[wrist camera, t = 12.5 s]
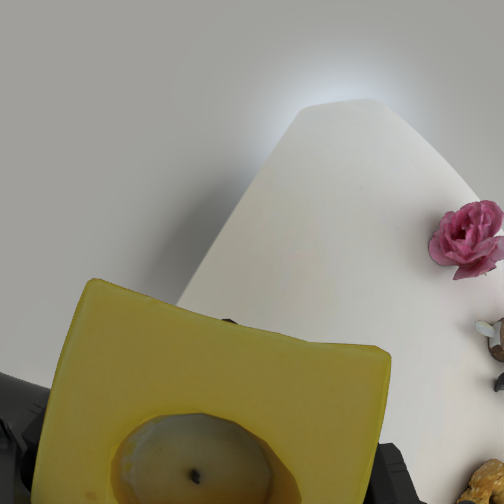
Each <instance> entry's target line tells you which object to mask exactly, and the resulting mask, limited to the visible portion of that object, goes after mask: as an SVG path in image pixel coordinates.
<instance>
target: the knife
mask: <svg viewBox="0 0 504 504" xmlns="http://www.w3.org/2000/svg"><path fill="white" fill-rule="evenodd" d="M499 390H504V372H503V373H502V374H501V375H500V376H499V377H498V379H497V383H496V387H495V392H497V391H499Z"/></svg>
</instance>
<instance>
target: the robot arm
mask: <svg viewBox="0 0 504 504" xmlns="http://www.w3.org/2000/svg"><path fill="white" fill-rule="evenodd" d="M49 396H50V392H48V393H46V394H44V395H42V396H40V397H39V398H38V399H37V400H36V401H35V402H34V405H32V406H31V407H30V408H29V410H27V411H26V412H25V413H24V414H23V415H22V416H21V418H20V419H19V420H18V421H17V422H16V423H15V424H14V425H13V426H12V428H11V429H10V428H9V426H8V424H7V422H6V420H5V419H4V418H3V417H1V416H0V504H31V500H30V498H31V491H32V483H33V477H34V471H35V464H36V458H37V452H38V446H39V441H40V436H41V431H42V427H43V422H44V417H45V412H46V408H47V404H48V400H49ZM363 504H427V503H425V502H422V501H420V500H419V498H418V496H417V494H416V491H415V488H414V486H413V483H412V480H411V478H410V475H409V472H408V470H407V467H406V465H405V463H404V459H403V457H402V454H401V452H400V450H399V449H398V448H397V447H396V446H395V445H394V444H393V443H386V444H379V442H378V445H377V448H376V452H375V457H374V462H373V466H372V471H371V475H370V479H369V483H368V487H367V491H366V494H365V498H364V501H363ZM457 504H476V503H475V502H473V501H470V500H463V501H460V502H459V503H457Z"/></svg>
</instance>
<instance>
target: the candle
mask: <svg viewBox="0 0 504 504" xmlns="http://www.w3.org/2000/svg"><path fill="white" fill-rule="evenodd" d="M390 373H391V356H390V354H389V353H388V352H386V351H384V350H382V349H380V348H379V347H377V346H372V345H357V344H339V343H314V342H307V341H303V340H300V339H296V338H293V337H290V336H286V335H283V334H279V333H275V332H270V331H265V330H260V329H255V328H250V327H246V326H242V325H238V324H237V323H235V322H234V321H232V320H231V319H222V320H219V319H215V318H212V317H208V316H204V315H201V314H197V313H194V312H191V311H188V310H185V309H182V308H179V307H176V306H174V305H171V304H168V303H165V302H162V301H159V300H157V299H154V298H152V297H149V296H147V295H144V294H141V293H137V292H134V291H132V290H129V289H126V288H123V287H120V286H118V285H115V284H112V283H110V282H107V281H105V280H102V279H95V278H93V279H91V280H89V281H88V282H87V284H86V286H85V288H84V290H83V293H82V295H81V297H80V300H79V302H78V305H77V307H76V310H75V313H74V316H73V319H72V322H71V325H70V328H69V331H68V334H67V336H66V339H65V342H64V345H63V348H62V351H61V354H60V358H59V361H58V364H57V368H56V372H55V376H54V380H53V384H52V388H51V392H50V396H49V400H48V404H47V408H46V412H45V417H44V422H43V427H42V431H41V436H40V441H39V446H38V452H37V458H36V464H35V471H34V477H33V483H32V491H31V498H30V500H31V504H363V501H364V498H365V494H366V491H367V487H368V483H369V479H370V475H371V471H372V466H373V462H374V457H375V452H376V448H377V445H378V441H379V437H380V432H381V428H382V424H383V419H384V414H385V408H386V402H387V396H388V389H389V382H390Z"/></svg>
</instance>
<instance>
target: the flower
mask: <svg viewBox="0 0 504 504" xmlns="http://www.w3.org/2000/svg"><path fill="white" fill-rule="evenodd" d="M503 217H504V213H503V211H502V210H501V209H500V207H499V206H497V204H496V203H495V202H492V201H488V200H483V201H480V202H472V203H468V204H466V205H464V206H463V207H462V208H461V209H460V210H458V211H457V212H456V213H455V212H453V211H449V212H446V213H445V215H444V217H443V218H442V221H441V222H440V229H438V230H437V231H436V232H434V233H433V238H432V239H431V241H430V244H429V254H430V256H431V257H432V259H433V260H435V261H436V262H437V263H438V264H440V265H442V266H454V265H457V266H459V268H458V270H457V271H456V273H455V275H454V278H453V280H458V279H462V278H468V277H477V276H479V275H481V274H483V273H485V275H486V272H488V271H491V270H493V269H495V268H496V267H497V266H496V265H495V263H496V262H497V261H500V260H503V259H504V236H496V237H493V236H494V235H495V234H496V233H497V232H498V231H499V230H500V229H501V225H502V221H503Z"/></svg>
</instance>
